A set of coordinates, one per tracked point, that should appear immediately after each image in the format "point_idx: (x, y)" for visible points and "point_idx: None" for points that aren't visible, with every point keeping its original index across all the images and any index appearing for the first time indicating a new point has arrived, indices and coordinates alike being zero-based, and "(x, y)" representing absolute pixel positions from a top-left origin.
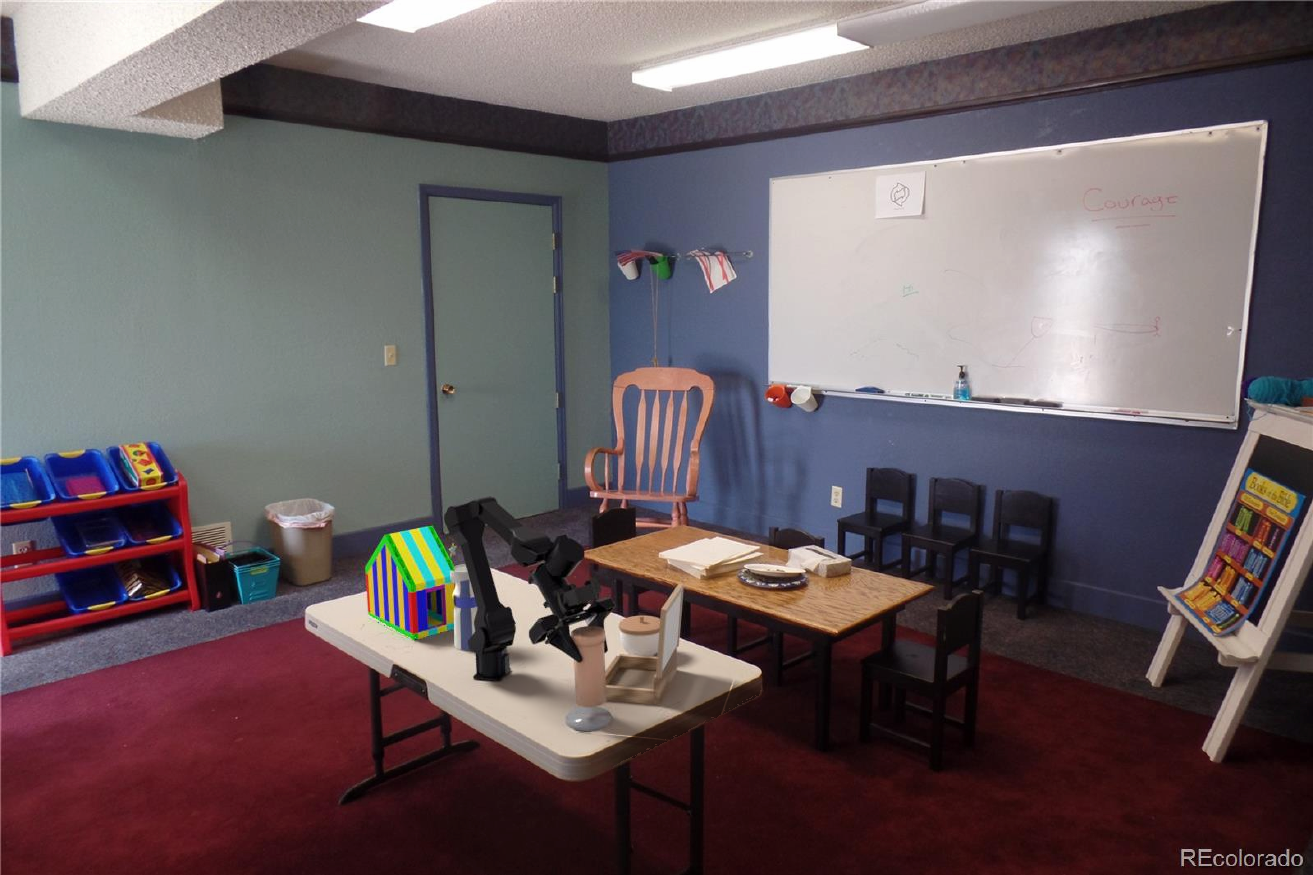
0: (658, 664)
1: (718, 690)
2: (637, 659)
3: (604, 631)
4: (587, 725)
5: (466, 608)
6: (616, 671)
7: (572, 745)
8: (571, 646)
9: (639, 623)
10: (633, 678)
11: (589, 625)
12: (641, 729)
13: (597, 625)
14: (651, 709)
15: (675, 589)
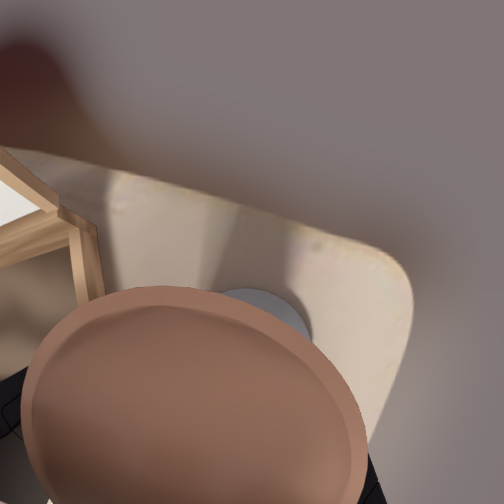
0: (35, 185)
1: (14, 156)
2: None
3: (86, 309)
4: (296, 326)
5: None
6: None
7: (376, 314)
8: (376, 476)
9: None
10: (9, 347)
11: (19, 500)
12: (225, 201)
13: (7, 439)
14: (117, 233)
15: None
